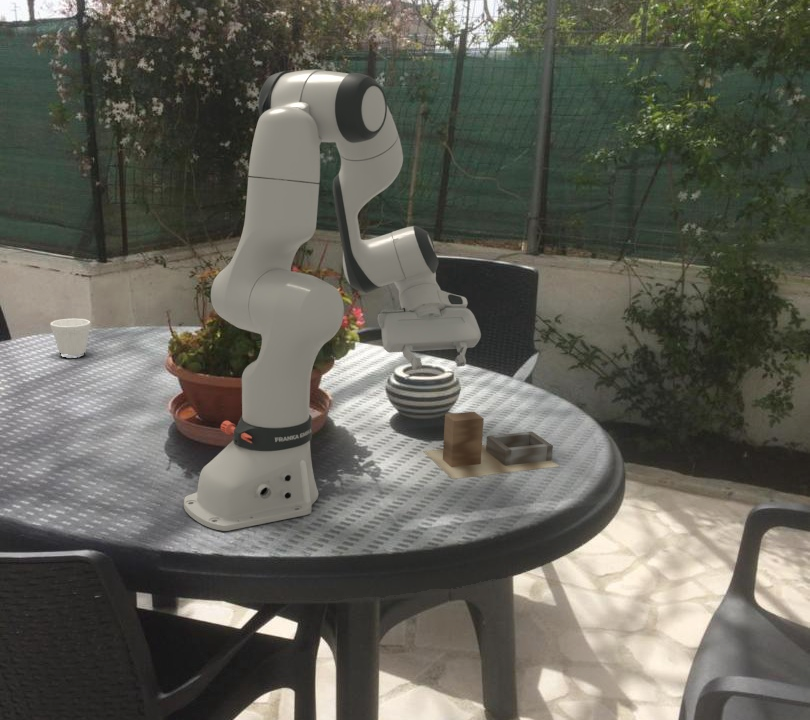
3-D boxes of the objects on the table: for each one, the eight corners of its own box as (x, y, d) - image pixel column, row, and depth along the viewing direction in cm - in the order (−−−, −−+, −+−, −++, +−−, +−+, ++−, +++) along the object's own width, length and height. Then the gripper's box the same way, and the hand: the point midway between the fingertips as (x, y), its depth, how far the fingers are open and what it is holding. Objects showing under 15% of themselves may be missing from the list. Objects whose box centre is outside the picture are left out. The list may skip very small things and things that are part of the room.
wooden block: (451, 467, 154) (453, 421, 151) (442, 459, 157) (445, 414, 155) (480, 463, 156) (483, 418, 153) (471, 456, 159) (474, 411, 157)
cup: (78, 349, 230) (75, 316, 228) (100, 355, 225) (98, 322, 222) (44, 356, 222) (42, 322, 220) (67, 363, 217) (64, 328, 214)
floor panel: (451, 486, 149) (453, 463, 148) (422, 458, 161) (423, 436, 160) (559, 473, 156) (561, 451, 155) (523, 447, 169) (525, 426, 168)
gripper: (379, 301, 164) (394, 361, 157) (473, 297, 171) (491, 355, 165) (371, 318, 169) (385, 377, 163) (463, 314, 176) (480, 371, 170)
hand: (439, 366), depth 164 cm, fingers open, 8 cm apart
